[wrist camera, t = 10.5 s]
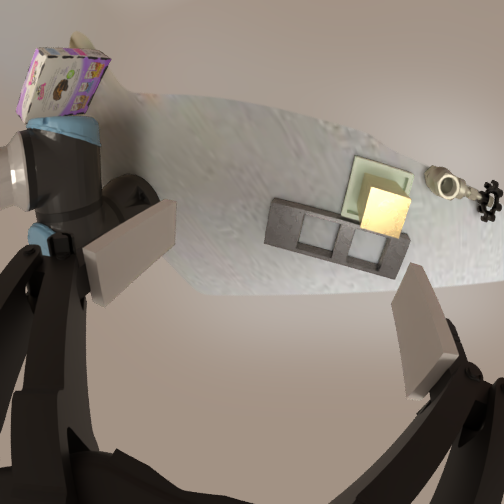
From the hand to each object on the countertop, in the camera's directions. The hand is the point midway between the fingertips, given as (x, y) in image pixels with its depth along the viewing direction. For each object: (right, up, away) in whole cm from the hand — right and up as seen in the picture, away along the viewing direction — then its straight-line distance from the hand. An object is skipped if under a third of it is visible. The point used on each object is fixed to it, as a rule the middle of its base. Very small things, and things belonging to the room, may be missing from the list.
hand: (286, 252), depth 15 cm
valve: (+29, +10, +19) cm, 36 cm away
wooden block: (+16, +9, +23) cm, 30 cm away
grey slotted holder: (+12, +3, +29) cm, 31 cm away
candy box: (-35, +36, +29) cm, 58 cm away
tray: (+17, +9, +24) cm, 30 cm away
